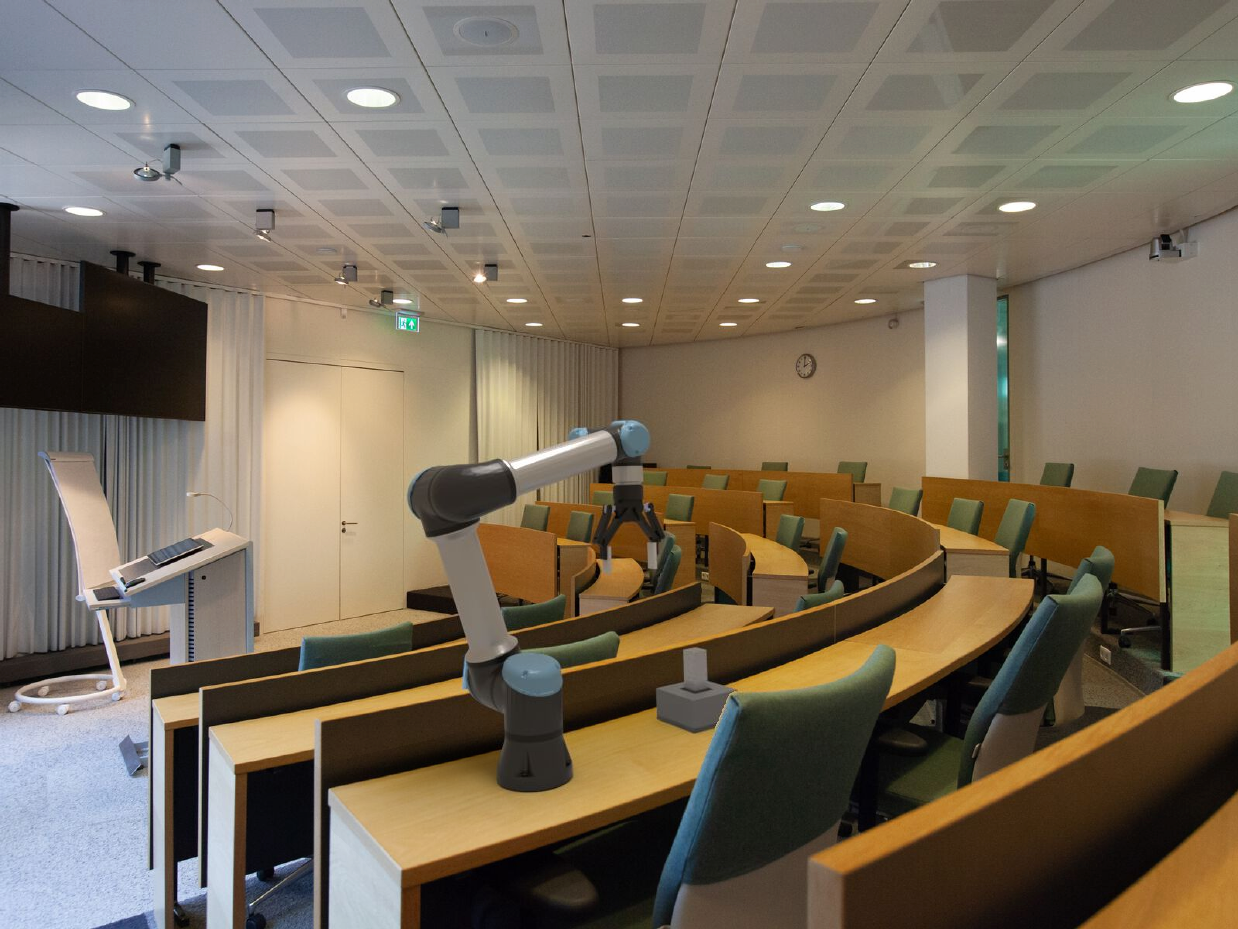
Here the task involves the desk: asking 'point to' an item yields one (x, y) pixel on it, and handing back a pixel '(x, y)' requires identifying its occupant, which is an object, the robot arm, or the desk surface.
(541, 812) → the desk surface
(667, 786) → the desk surface
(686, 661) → the grey metal bar
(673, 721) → the slate well
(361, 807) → the desk surface
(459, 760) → the desk surface
